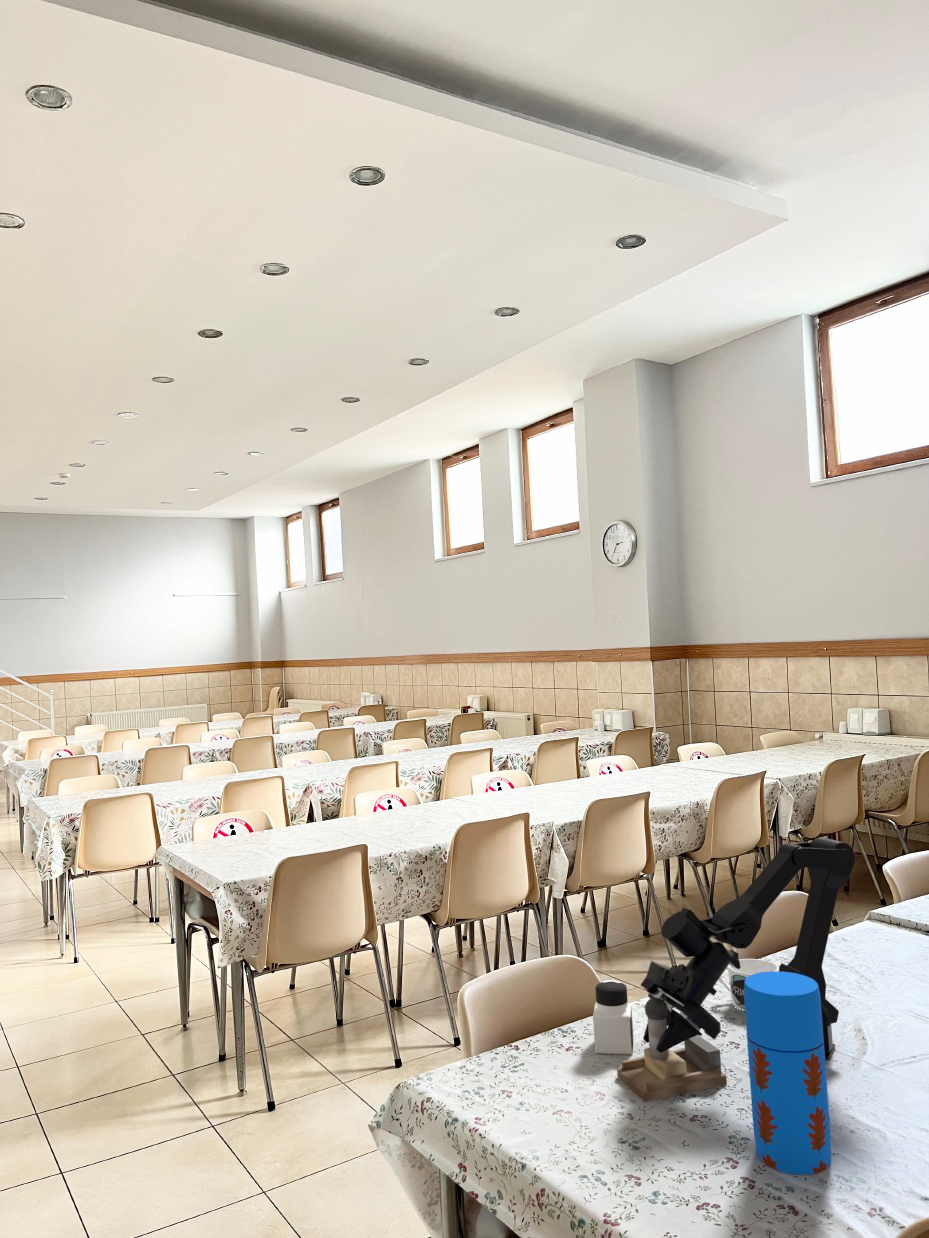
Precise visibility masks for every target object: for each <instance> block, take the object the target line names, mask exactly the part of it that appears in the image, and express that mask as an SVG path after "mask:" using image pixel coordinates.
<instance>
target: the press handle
mask: <svg viewBox="0 0 929 1238" xmlns="http://www.w3.org/2000/svg"><path fill="white" fill-rule="evenodd" d="M644 1012H645V1016H646V1017H647V1023H648V1030H649V1042H648V1043H649V1045H648V1046H649V1047H646V1048H644V1049H643V1052H644V1053H643V1054H644V1056H643V1057H645V1066H646V1067H647V1068H648V1069H649V1070H651V1071H652V1072H653V1073H654V1074H655V1075H657V1076H658V1077H659V1078H660V1079H665V1078H670V1077H675V1076H680V1075H684V1074H687V1072H686V1061H684V1060H683V1059H682V1058H680V1057H679V1056H678V1055H676V1054H675V1053H674V1052H672V1051H673V1050H671V1048H670V1049H668V1050H666V1051H664V1052H662V1053H660V1052H659V1051H657V1050H656V1048H657V1045H658V1043H659V1041H660V1039H661V1038H662V1036H663V1034H664V1033H665V1031H666V1029H667V1027H668V1026H667V1023H666V1017H667V1014H668V1007H667V1005H666V1003H665V1002H664V1001H663V1000H662V999H660V998H651V999H650V998H649V999H648V1000H647V1001H646V1002H645V1005H644Z"/></svg>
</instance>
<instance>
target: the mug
mask: <svg viewBox="0 0 929 1238" xmlns="http://www.w3.org/2000/svg"><path fill="white" fill-rule="evenodd" d="M739 962H740V966H741V967H740V969H737V968H735V967H733V966H731V965H728V966H727V968H726V969H727V973H728V980H729V984H728V982H727V981H726V980H725V979H724V978H723V976H722V975H721V977H720V978H719V980H718V981H719V982H720V983H721V984H722V985H723V986H724V988H725V989H726V990H727V991H728V992H730V998H731V1004H732V1006H733V1005H734V1006H735V1007H736V1008H738V1009H740V1010H743V1011H745V1002H744V984H745V979H746V978H747V977H749V976H750V975H753V974H756V973H760V972H770V971H775V972H779V967H780V966H778V964H777V963H774V962H772V961H769V960H765V959H758V958H742V959H740V958H739ZM734 1006H733V1007H734ZM735 1007H734V1008H735ZM736 1008H735V1009H736ZM738 1009H737V1010H738ZM740 1010H739V1011H740ZM743 1011H742V1012H743Z"/></svg>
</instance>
